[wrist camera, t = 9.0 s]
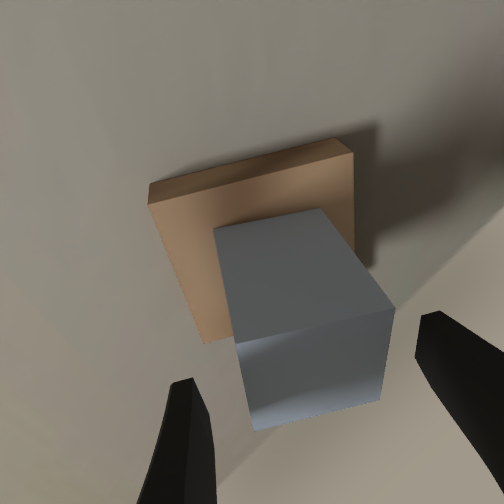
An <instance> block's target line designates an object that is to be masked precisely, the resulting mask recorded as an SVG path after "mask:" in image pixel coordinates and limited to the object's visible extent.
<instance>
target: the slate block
mask: <svg viewBox="0 0 504 504" xmlns="http://www.w3.org/2000/svg"><path fill="white" fill-rule="evenodd" d="M213 234H214V239H215V244H216V249H217V254H218V259H219V264H220V269H221V274H222V279H223V284H224V289H225V294H226V299H227V304H228V309H229V314H230V319H231V324H232V329H233V335H234V340H235V345H236V349H237V354H238V359H239V363H240V368H241V373H242V378H243V382H244V387H245V392H246V397H247V401H248V406H249V411H250V416H251V420H252V425H253V430H254V432H255V431H259V430H263V429H266V428H270V427H274V426H278V425H282V424H286V423H290V422H294V421H298V420H302V419H306V418H310V417H314V416H318V415H322V414H326V413H330V412H334V411H338V410H342V409H346V408H350V407H354V406H357V405H362V404H366V403H370V402H373V401H377V400H380V395H381V389H382V384H383V378H384V372H385V366H386V360H387V354H388V348H389V343H390V336H391V330H392V325H393V319H394V313H395V306H394V305H393V304H392V302H391V301H390V300H389V298H388V297H387V296H386V294H385V293H384V292H383V290H382V289H381V288H380V286H379V285H378V284H377V282H376V281H375V280H374V278H373V277H372V276H371V274H370V273H369V272H368V270H367V269H366V268H365V266H364V265H363V264H362V262H361V261H360V260H359V258H358V257H357V256H356V254H355V253H354V252H353V250H352V249H351V248H350V246H349V245H348V244H347V242H346V241H345V240H344V238H343V237H342V236H341V235H340V233H339V232H338V231H337V229H336V228H335V227H334V225H333V224H332V223H331V221H330V220H329V219H328V217H327V216H326V215H325V213H324V212H323V211H322V209H321V208H317V209H312V210H307V211H302V212H297V213H292V214H287V215H282V216H277V217H272V218H267V219H262V220H257V221H252V222H247V223H241V224H236V225H231V226H226V227H221V228H216V229H213Z"/></svg>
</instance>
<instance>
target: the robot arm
mask: <svg viewBox="0 0 504 504" xmlns="http://www.w3.org/2000/svg"><path fill="white" fill-rule="evenodd" d="M415 359H416V360H417V363H418V364H419V366H420V368H421V370H422V372H423V374H424V375H425V377H426V379H427V381H428V382H429V384H430V386H431V388H432V389H433V391H434V392H435V393H436V395H437V396H438V398H439V399H440V401H441V402H442V403H443V405H444V406H445V408H446V409H447V411H448V412H449V413H450V415H451V416H452V417H453V419H454V420H455V422H456V423H457V425H458V426H459V427H460V429H461V430H462V432H463V433H464V434H465V436H466V437H467V439H468V440H469V441H470V443H471V444H472V446H473V447H474V448H475V450H476V451H477V452H478V454H479V455H480V457H481V458H482V460H483V461H484V463H485V464H486V466H487V467H488V469H489V470H490V472H491V473H492V475H493V477H494V478H495V480H496V482H497V483H498V485H499V487H500V488H501V490H502V492H503V493H504V352H502V351H501V350H499V349H498V348H496V347H495V346H493V345H492V344H490V343H488V342H487V341H485V340H484V339H482V338H481V337H479V336H478V335H476V334H475V333H473V332H472V331H470V330H469V329H467V328H466V327H464V326H463V325H461V324H460V323H458V322H457V321H455V320H454V319H452V318H451V317H449V316H447V315H446V314H444V313H443V312H441V311H436V312H432V313H429V314H425V315H422V316H421V320H420V326H419V333H418V339H417V345H416V352H415ZM137 504H217V494H216V472H215V452H214V443H213V436H212V429H211V423H210V416H209V413H208V410H207V408H206V406H205V404H204V401H203V399H202V397H201V395H200V392H199V390H198V388H197V386H196V383H195V381H194V379H193V378H189V379H185V380H181V381H178V382H174V383H172V384H171V386H170V390H169V395H168V400H167V404H166V409H165V413H164V417H163V421H162V425H161V429H160V432H159V436H158V439H157V443H156V446H155V449H154V453H153V456H152V459H151V463H150V466H149V469H148V472H147V475H146V478H145V481H144V484H143V487H142V489H141V492H140V495H139V498H138V501H137Z"/></svg>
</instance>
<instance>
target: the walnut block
mask: <svg viewBox="0 0 504 504" xmlns="http://www.w3.org/2000/svg"><path fill="white" fill-rule="evenodd" d="M148 207H149V210H150V212H151V215H152V217H153V220H154V222H155V225H156V227H157V230H158V232H159V234H160V237H161V239H162V242H163V244H164V247H165V249H166V252H167V254H168V257H169V259H170V262H171V264H172V267H173V269H174V272H175V274H176V277H177V279H178V282H179V284H180V287H181V289H182V292H183V294H184V297H185V299H186V302H187V304H188V307H189V309H190V312H191V314H192V316H193V319H194V321H195V324H196V326H197V329H198V331H199V334H200V336H201V339H202V341H203V344H205V343H209V342H212V341H216V340H219V339H223V338H227V337H230V336H234V335H233V329H232V324H231V319H230V314H229V309H228V304H227V299H226V294H225V289H224V284H223V279H222V274H221V269H220V264H219V259H218V254H217V249H216V244H215V239H214V234H213V229H216V228H221V227H226V226H231V225H236V224H241V223H247V222H252V221H257V220H262V219H267V218H272V217H277V216H282V215H287V214H292V213H297V212H302V211H307V210H312V209H317V208H321V209H322V211H323V212H324V213H325V215H326V216H327V217H328V219H329V220H330V221H331V223H332V224H333V225H334V227H335V228H336V229H337V231H338V232H339V233H340V235H341V236H342V237H343V238H344V240H345V241H346V242H347V244H348V245H349V246H350V248H351V249H352V250H353V252H354V253H355V232H354V163H353V151H351V150H350V149H349V148H347V147H346V146H345V145H343V144H342V143H341V142H340V141H338V140H337V139H336V138H330V139H326V140H322V141H318V142H314V143H310V144H306V145H302V146H298V147H294V148H290V149H286V150H282V151H278V152H274V153H270V154H266V155H262V156H258V157H254V158H250V159H247V160H243V161H239V162H235V163H231V164H227V165H223V166H219V167H215V168H211V169H207V170H203V171H199V172H195V173H191V174H187V175H183V176H179V177H175V178H171V179H167V180H163V181H159V182H155V183H151V184H150V185H149V195H148Z"/></svg>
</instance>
